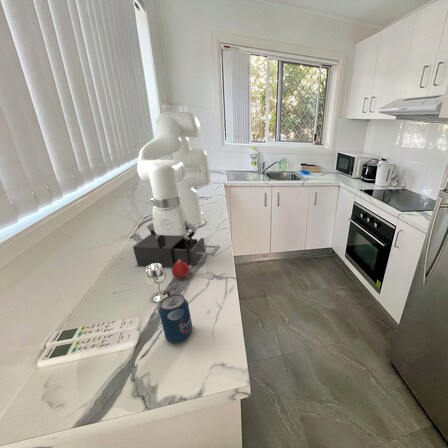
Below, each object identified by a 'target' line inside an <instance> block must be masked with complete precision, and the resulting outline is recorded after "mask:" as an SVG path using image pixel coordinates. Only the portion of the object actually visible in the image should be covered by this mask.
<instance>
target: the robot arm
mask: <svg viewBox="0 0 448 448" xmlns="http://www.w3.org/2000/svg"><path fill="white" fill-rule="evenodd" d="M155 121H156V133H155V137H154V138H153V139H151V140H149V141H148V142H147V143H146V144H144V146H142V148H140V150H139V153H138V158H137V164H136V165H137V166H136V167H137V168H136V169H137V174H138V177H139V179H140V180H141V181H143V182H144V183H150V187H151V192H152V196H153V197H151V198H150V202H152V203H153V204H154V205H153V206H152V222H150V223H149V224H148V225H146V228H147V230H148V232H150V234H153V235H154V237H155V238H156V239H157V242H158V245H159V249H162V248H163V247H164V246H165V245H166V242H165V237H164V235H167V236H182V235H183V236H184V237H185V238H186V240H185V244H186V249H187V250H189V249H190V248H191V247H192V246H193V242H192V239H193V236H195V235H196V233H197V231H198V230H199V229H198V228H199V227H202V226H204V225H205V224H206V220H205V219H203V217H202V216H203V215H204V213H203V211H202V210H201V202H200V194H199V192H198V191H197V189H195V187H204V186H206V187H207V186H209V185H210V183H211V172H210V164H209V158H208V154H207V152H206V150H205V149H203V148H191V145H190V140H189V138H198V137H200V135H201V133H202V130H201V129H202V128H201V123H200V120H199V118H198V117H197V116H196V115H195V114H194V113H192V112H188V111H162V112H160V114H158V115H157V118H156V120H155ZM171 154H172V158H173V159H160V158H162V157H166V156H169V155H171ZM190 230H191V231H190Z"/></svg>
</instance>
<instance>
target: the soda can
mask: <svg viewBox="0 0 448 448" xmlns="http://www.w3.org/2000/svg"><path fill="white" fill-rule="evenodd" d="M158 313H159V317H160V321H161V325H162V329H163V334H164V338H165V340H166V341H167V342H169V343H171V344H177V345H178V344H180V343H181V344H182V343H184V342H185V341H187V340H188V339H189V338H190V336H191V334H192V333H193V330H194V329H193V322H192V317H191V312H190V306H189V301H188V300H187V299H186V298H185V296H184V295H182V294H178V293H177V294H176V293H175V294H171V295H168V297H166V298H165V299H163V300H162V301H160V305H159V308H158Z"/></svg>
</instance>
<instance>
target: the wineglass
mask: <svg viewBox="0 0 448 448" xmlns="http://www.w3.org/2000/svg"><path fill="white" fill-rule="evenodd" d="M166 276H167V273H166V270H165V267H163V266H162V265H161V264H160V263H154V264H150V265H148V266H145V268H144V279H145V282H146V283H147V284H148V285H149V286H156V289H157V291H158V293H157V294H155V295H154V296H153V298H152V300H153V301H154V302H157V303H158V302H161V301H162V300H163V299H165V298H166V297H168V296H169V294H168V292H161V289H160V287H161V284H162V283H164V282H165V280H166Z"/></svg>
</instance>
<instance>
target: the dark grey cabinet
mask: <svg viewBox="0 0 448 448" xmlns="http://www.w3.org/2000/svg"><path fill="white" fill-rule="evenodd" d="M164 237H165V242H166V245H165V246H164V247H163V248H162V249H159V245H158V242H157V239H156V238H155V237H154V235H153V234H151V233H150V234H149V235H147V236H146V237H144V238H143V239H141V241H139V242H138V243H136V244H134V245H133V246H132V249H133V253H134V257H135V260H136V264H137V266H138V267H147V266H148V265H150V264H154V263H160V264H161V265H162V266H163V268H172V267H173V265H174V264H175V263H174V260H173V255H172V250H171V249H173V248H174V247H175V246H176V245H177V244H178V243H179V242H180V241H181V240H182V239H183V238H184V239H186V238H185V237H184V236H183V235H182V236H167V235H164Z"/></svg>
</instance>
